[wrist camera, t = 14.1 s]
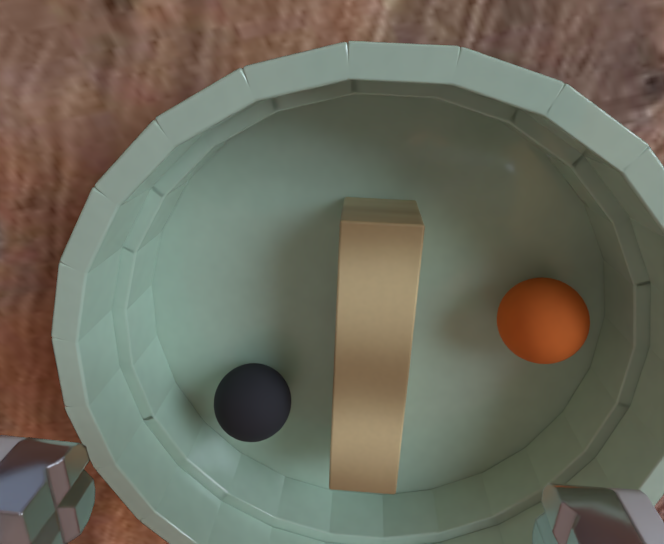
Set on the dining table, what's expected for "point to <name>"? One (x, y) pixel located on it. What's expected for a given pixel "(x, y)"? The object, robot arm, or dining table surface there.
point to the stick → (373, 340)
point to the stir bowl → (321, 291)
